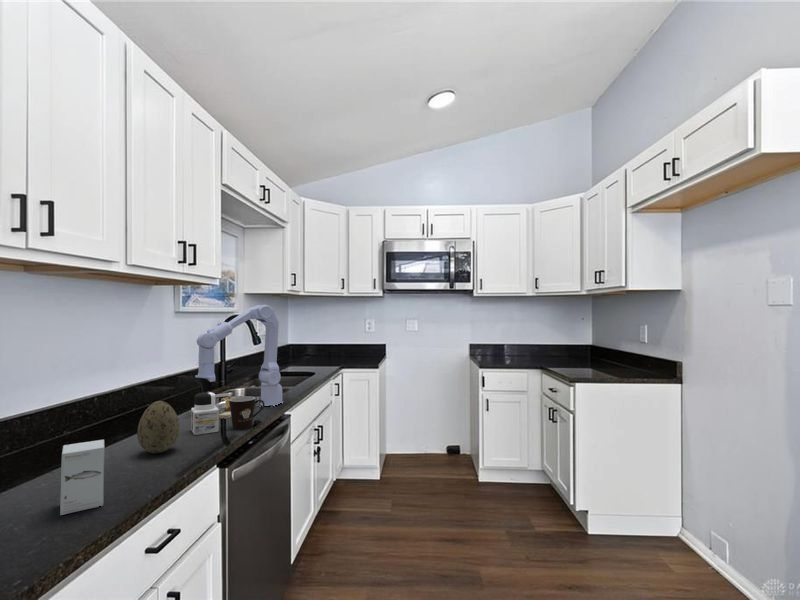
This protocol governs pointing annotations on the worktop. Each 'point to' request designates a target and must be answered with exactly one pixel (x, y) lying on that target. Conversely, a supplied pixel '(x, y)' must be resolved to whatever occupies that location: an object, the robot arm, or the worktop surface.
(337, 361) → the worktop surface
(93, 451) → the supplement box
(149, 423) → the decorative egg
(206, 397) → the container
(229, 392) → the valve lever
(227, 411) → the mounting board
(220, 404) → the valve pipe
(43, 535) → the worktop surface
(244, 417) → the coffee mug
